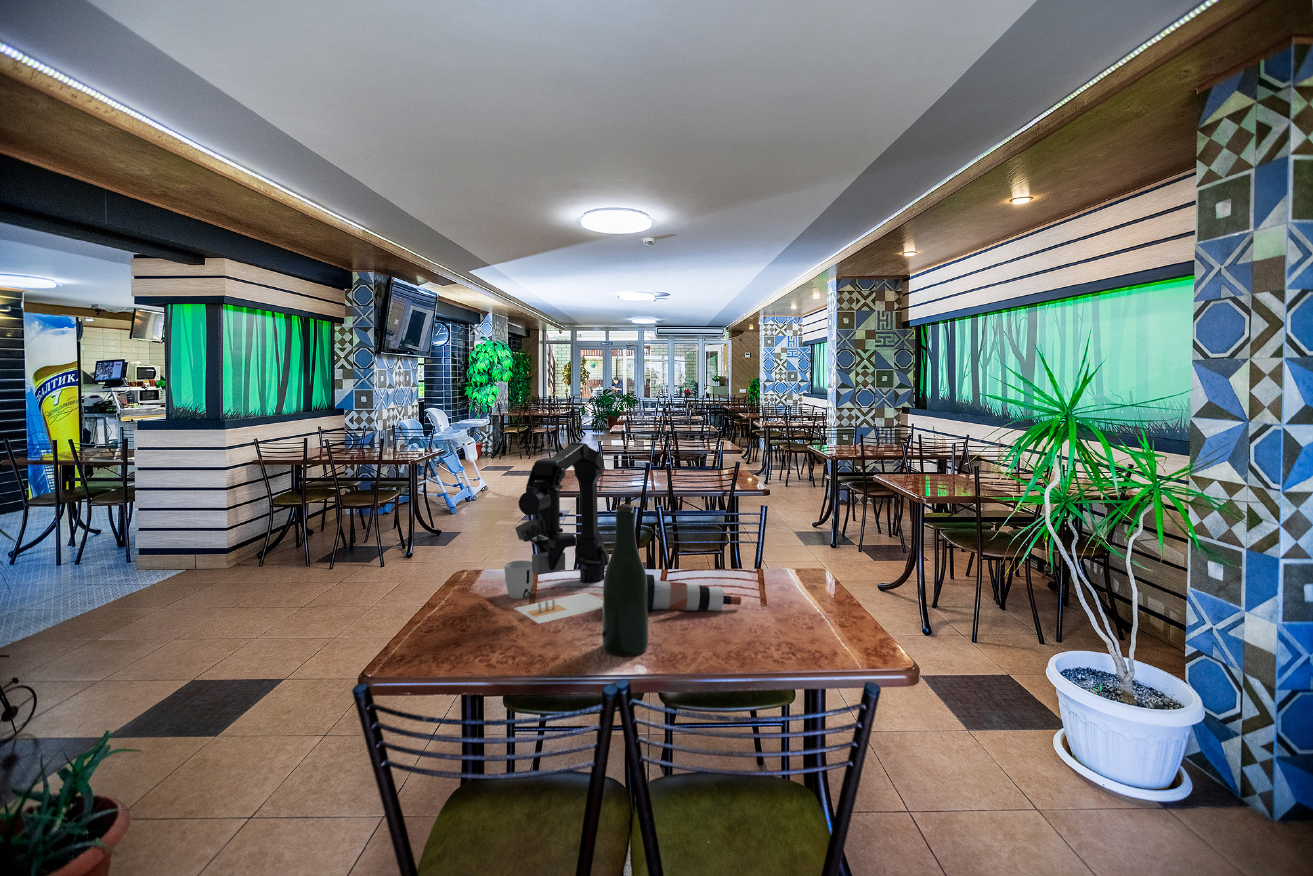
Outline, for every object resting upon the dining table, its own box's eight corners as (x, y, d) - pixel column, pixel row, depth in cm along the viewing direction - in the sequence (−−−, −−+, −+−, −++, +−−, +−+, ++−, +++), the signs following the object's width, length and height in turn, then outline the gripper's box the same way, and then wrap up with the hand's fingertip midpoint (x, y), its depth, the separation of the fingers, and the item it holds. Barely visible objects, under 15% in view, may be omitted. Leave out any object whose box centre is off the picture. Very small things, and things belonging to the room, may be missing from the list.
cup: (528, 604, 178) (528, 568, 177) (500, 603, 179) (499, 567, 178) (538, 595, 186) (538, 561, 185) (511, 594, 187) (510, 559, 186)
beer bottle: (623, 636, 156) (623, 499, 153) (657, 647, 149) (658, 504, 147) (592, 649, 148) (592, 505, 145) (627, 662, 141) (627, 511, 139)
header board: (585, 596, 185) (585, 583, 185) (613, 609, 174) (613, 596, 174) (513, 612, 172) (513, 598, 172) (538, 628, 161) (538, 613, 160)
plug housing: (558, 567, 173) (558, 550, 173) (565, 569, 170) (565, 552, 170) (532, 571, 168) (531, 554, 168) (538, 574, 165) (538, 557, 165)
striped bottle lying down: (739, 628, 173) (747, 601, 168) (611, 619, 169) (615, 591, 164) (733, 600, 182) (741, 573, 177) (611, 591, 178) (615, 563, 173)
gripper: (503, 506, 170) (504, 565, 171) (537, 517, 156) (537, 582, 157) (541, 502, 177) (542, 559, 178) (577, 512, 163) (577, 574, 164)
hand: (548, 568), depth 169 cm, fingers closed on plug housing, 3 cm apart
